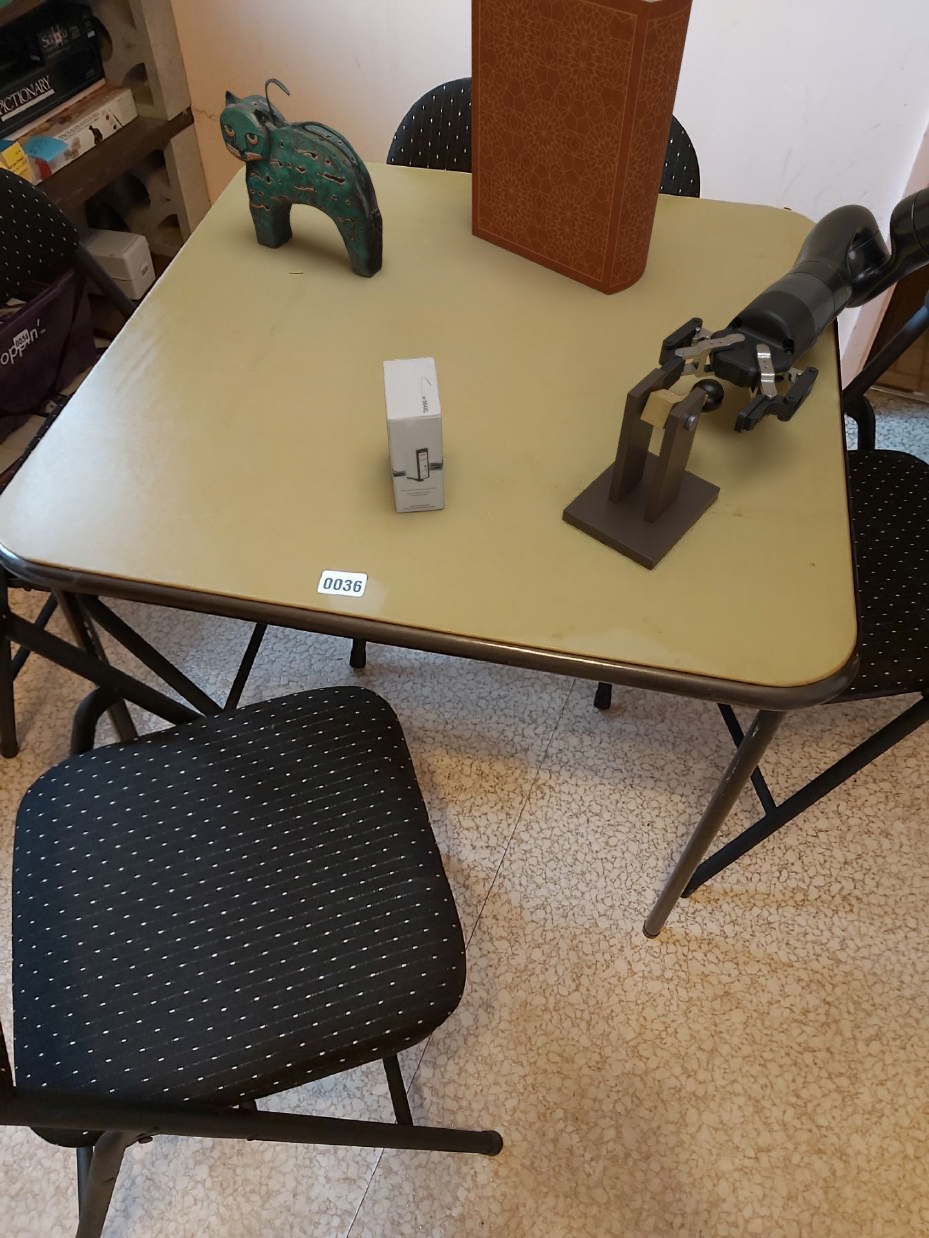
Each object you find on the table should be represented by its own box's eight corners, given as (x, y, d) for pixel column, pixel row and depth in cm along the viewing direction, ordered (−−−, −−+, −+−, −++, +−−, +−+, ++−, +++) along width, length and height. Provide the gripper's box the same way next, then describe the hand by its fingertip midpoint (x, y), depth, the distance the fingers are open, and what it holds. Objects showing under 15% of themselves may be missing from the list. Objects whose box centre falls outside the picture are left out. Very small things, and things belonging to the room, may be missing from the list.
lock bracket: (631, 452, 85) (654, 335, 74) (717, 497, 81) (756, 380, 70) (561, 519, 80) (576, 403, 69) (650, 570, 76) (681, 456, 65)
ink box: (390, 454, 85) (379, 356, 76) (438, 450, 86) (434, 352, 76) (395, 515, 80) (384, 418, 71) (446, 510, 81) (443, 414, 71)
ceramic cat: (242, 244, 110) (202, 73, 94) (272, 221, 113) (239, 53, 97) (367, 286, 103) (348, 111, 87) (396, 261, 107) (382, 88, 91)
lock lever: (691, 403, 81) (705, 371, 79) (720, 417, 80) (735, 385, 78) (633, 420, 71) (647, 385, 70) (665, 437, 70) (680, 401, 68)
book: (471, 234, 111) (471, -46, 86) (510, 209, 114) (520, -66, 90) (615, 298, 102) (659, 5, 77) (652, 269, 105) (705, -19, 81)
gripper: (727, 266, 85) (639, 341, 78) (860, 319, 79) (779, 405, 72) (710, 331, 91) (627, 406, 84) (833, 384, 85) (755, 469, 78)
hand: (697, 405), depth 78 cm, fingers open, 8 cm apart
